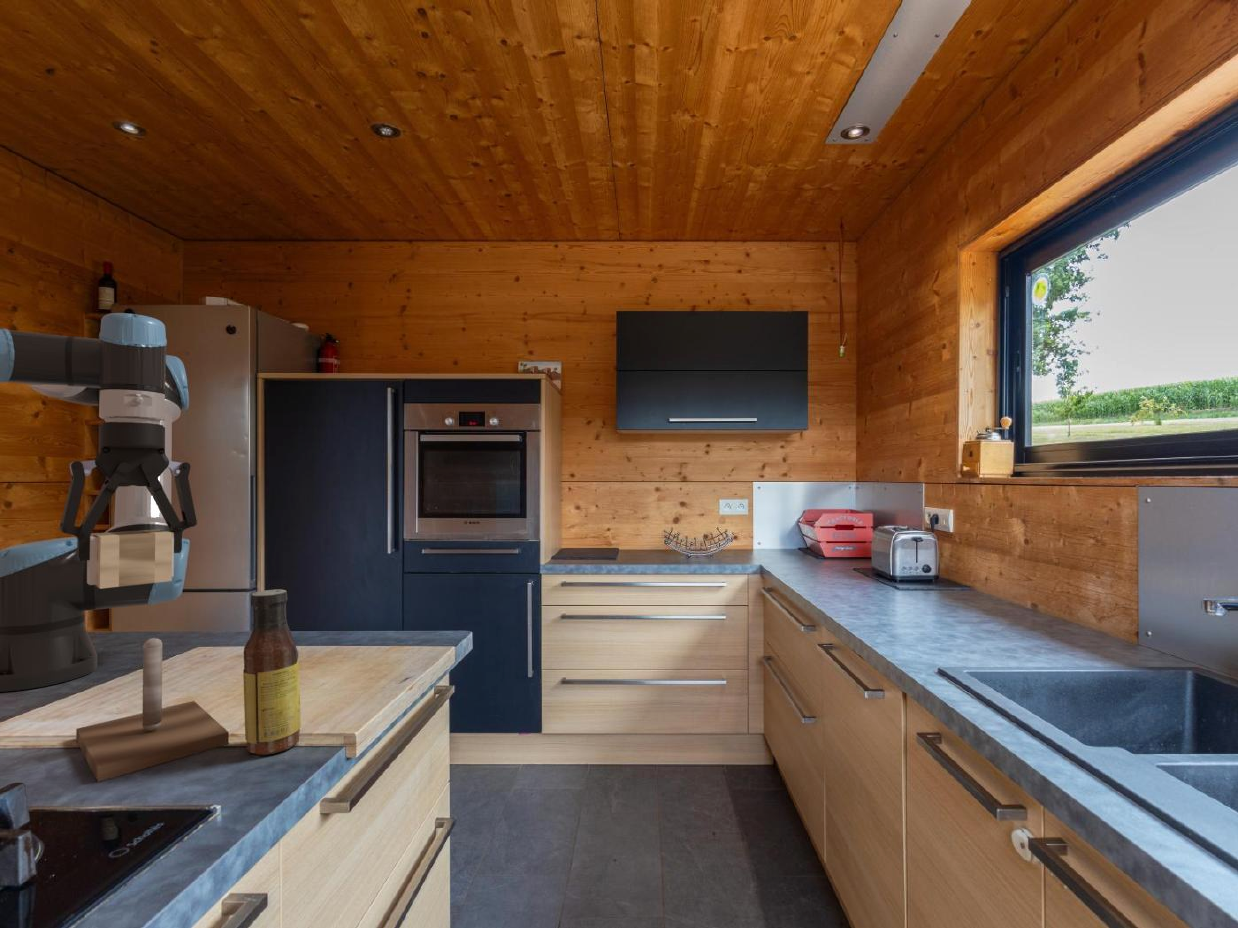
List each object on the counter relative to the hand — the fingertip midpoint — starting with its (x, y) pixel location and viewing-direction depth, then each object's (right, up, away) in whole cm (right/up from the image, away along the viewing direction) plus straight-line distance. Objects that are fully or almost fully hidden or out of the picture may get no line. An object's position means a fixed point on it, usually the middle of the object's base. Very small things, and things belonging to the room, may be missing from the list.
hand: (131, 579), depth 88 cm
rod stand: (+9, -20, -8) cm, 23 cm away
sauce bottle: (+26, -20, -10) cm, 34 cm away
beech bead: (0, 0, 0) cm, 0 cm away
